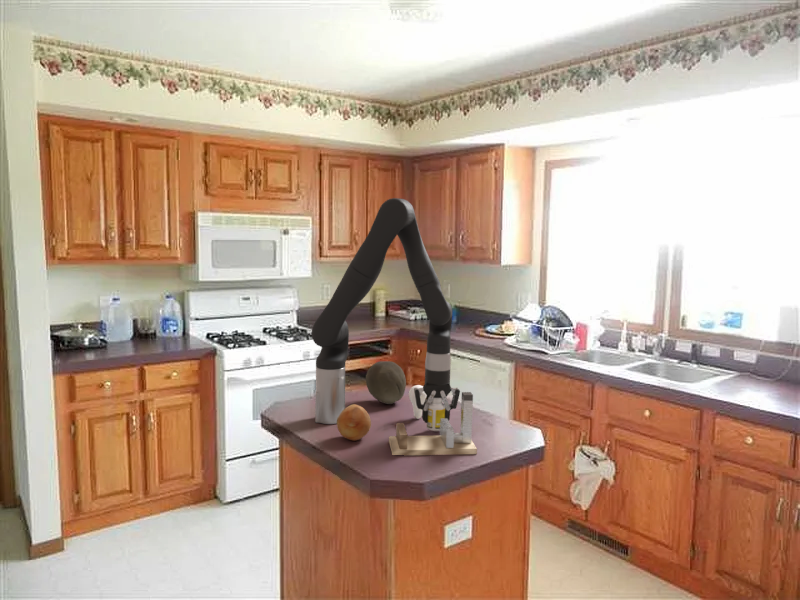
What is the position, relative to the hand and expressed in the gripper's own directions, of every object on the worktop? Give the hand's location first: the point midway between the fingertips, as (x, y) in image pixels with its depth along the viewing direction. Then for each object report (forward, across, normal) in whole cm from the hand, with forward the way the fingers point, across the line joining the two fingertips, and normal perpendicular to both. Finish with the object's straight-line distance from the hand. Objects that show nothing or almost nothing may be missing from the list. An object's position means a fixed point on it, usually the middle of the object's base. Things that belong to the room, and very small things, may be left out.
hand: (435, 421), depth 174 cm
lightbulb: (+3, -4, +13) cm, 14 cm away
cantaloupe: (+4, -13, +31) cm, 34 cm away
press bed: (+3, -3, -13) cm, 14 cm away
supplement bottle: (+2, 0, 0) cm, 2 cm away
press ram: (+1, +4, -13) cm, 14 cm away
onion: (+3, -25, -5) cm, 25 cm away
